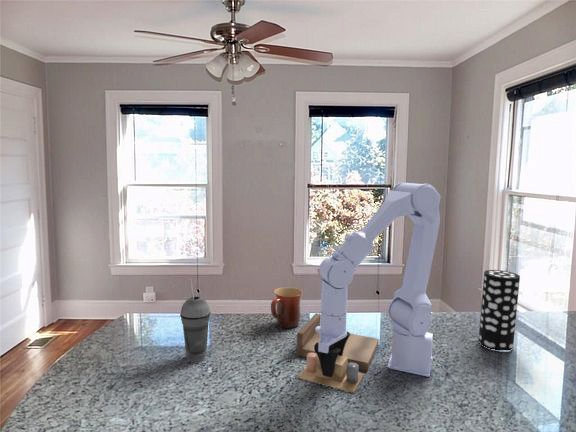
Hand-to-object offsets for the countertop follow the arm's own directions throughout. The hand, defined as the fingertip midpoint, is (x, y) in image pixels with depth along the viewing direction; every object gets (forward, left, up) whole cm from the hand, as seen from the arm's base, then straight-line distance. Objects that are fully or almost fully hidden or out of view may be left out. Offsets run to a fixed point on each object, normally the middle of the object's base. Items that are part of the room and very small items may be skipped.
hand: (331, 368), depth 87 cm
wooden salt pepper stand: (0, 0, -2) cm, 2 cm away
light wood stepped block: (+2, -13, -2) cm, 13 cm away
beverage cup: (+33, +6, -2) cm, 34 cm away
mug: (+21, -21, -2) cm, 30 cm away
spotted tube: (-36, -34, -2) cm, 50 cm away
